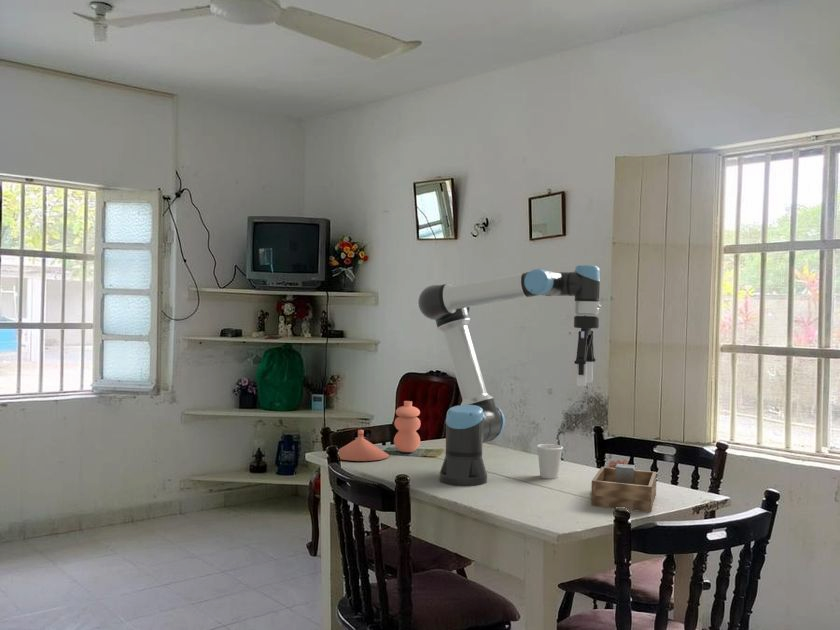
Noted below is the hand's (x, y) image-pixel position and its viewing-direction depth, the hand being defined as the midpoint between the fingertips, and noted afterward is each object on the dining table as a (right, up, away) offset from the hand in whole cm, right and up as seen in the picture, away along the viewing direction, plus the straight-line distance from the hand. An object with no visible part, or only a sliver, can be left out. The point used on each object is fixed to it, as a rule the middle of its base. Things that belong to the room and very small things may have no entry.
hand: (584, 384), depth 230 cm
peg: (+8, -32, -16) cm, 37 cm away
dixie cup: (-9, -32, +13) cm, 35 cm away
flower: (+14, -32, +4) cm, 35 cm away
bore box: (+8, -32, -16) cm, 37 cm away
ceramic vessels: (-67, -30, +45) cm, 86 cm away
